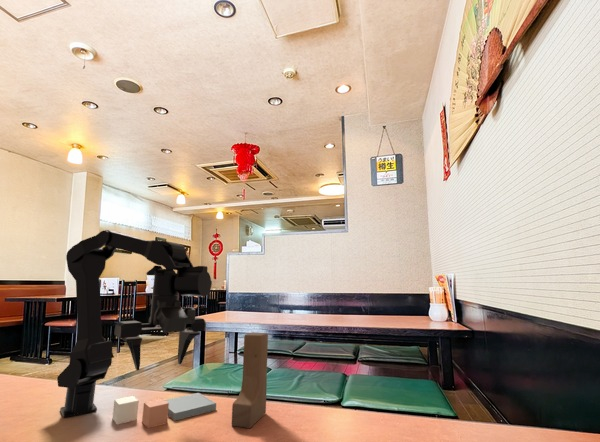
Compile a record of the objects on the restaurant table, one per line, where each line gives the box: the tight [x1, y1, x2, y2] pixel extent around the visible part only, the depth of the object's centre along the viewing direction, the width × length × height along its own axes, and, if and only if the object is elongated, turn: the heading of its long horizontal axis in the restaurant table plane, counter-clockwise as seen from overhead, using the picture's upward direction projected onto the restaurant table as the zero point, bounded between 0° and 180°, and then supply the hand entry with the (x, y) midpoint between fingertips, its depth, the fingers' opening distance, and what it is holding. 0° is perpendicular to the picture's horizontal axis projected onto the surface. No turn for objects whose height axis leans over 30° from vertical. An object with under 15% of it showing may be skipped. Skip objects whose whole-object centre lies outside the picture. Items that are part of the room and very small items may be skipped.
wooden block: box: [231, 331, 269, 429], centre depth 75 cm, size 9×4×18 cm, turn 164°
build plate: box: [164, 392, 217, 422], centre depth 79 cm, size 10×10×2 cm
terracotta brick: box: [141, 398, 169, 429], centre depth 71 cm, size 4×4×4 cm
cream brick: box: [112, 395, 140, 425], centre depth 73 cm, size 4×4×4 cm
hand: (159, 366), depth 73 cm, fingers open, 9 cm apart
